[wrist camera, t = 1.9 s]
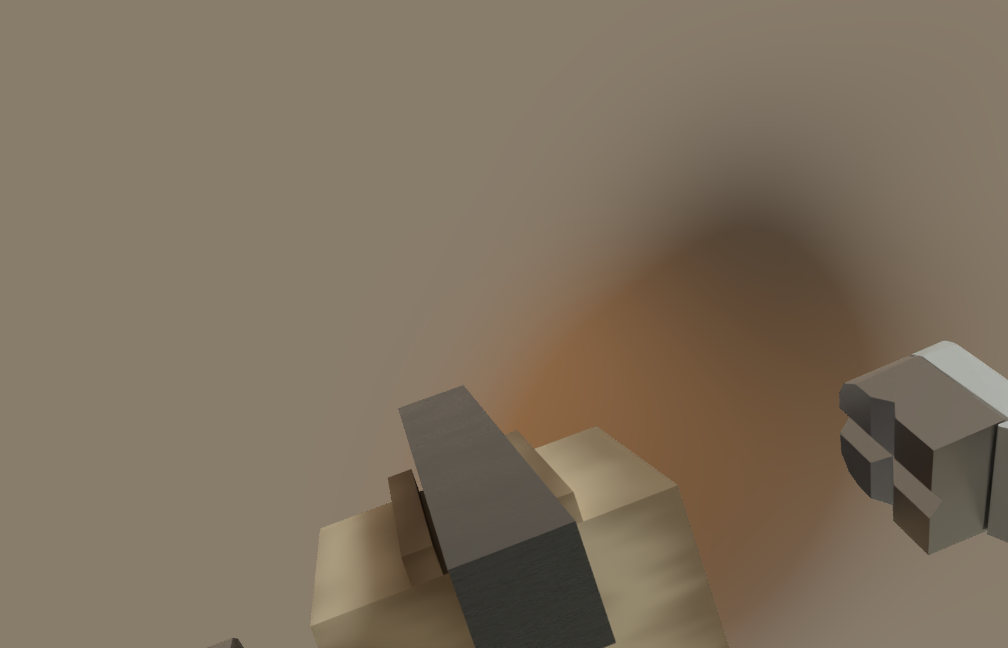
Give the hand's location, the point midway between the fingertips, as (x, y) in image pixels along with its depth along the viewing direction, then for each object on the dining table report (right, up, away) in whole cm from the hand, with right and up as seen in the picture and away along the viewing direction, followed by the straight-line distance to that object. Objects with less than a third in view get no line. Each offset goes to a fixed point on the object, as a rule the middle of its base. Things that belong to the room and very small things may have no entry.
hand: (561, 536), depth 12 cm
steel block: (-1, -4, +20) cm, 20 cm away
